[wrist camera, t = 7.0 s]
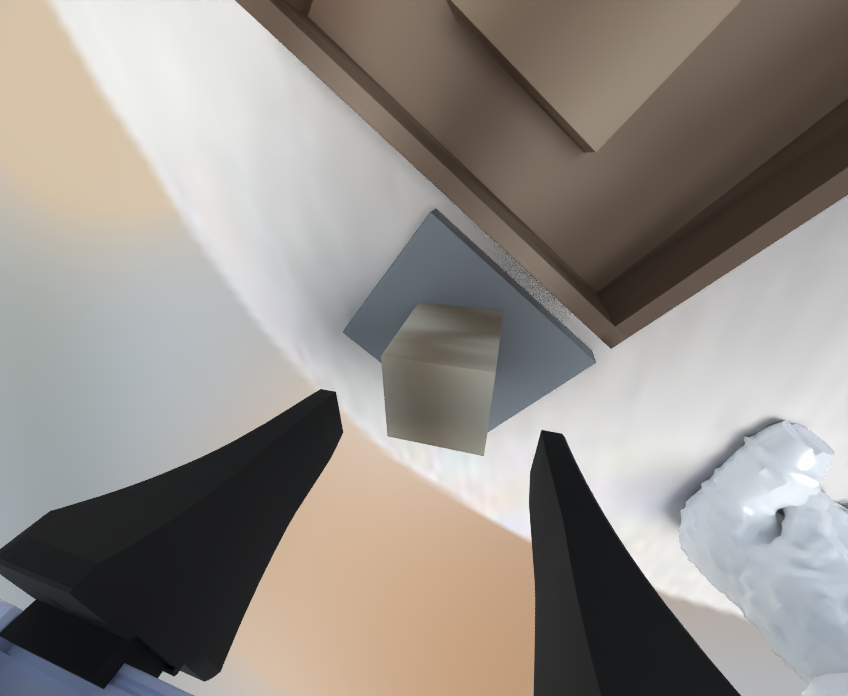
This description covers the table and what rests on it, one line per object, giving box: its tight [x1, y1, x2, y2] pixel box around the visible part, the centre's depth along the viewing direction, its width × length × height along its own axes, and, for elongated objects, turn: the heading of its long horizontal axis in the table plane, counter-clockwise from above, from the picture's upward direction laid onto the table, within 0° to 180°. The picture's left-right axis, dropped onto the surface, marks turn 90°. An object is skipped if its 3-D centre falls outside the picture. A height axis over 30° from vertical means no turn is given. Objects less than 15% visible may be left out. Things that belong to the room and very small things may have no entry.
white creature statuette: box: [679, 420, 848, 696], centre depth 13 cm, size 10×9×12 cm
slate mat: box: [343, 209, 596, 432], centre depth 17 cm, size 10×8×1 cm
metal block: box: [381, 302, 503, 456], centre depth 14 cm, size 4×4×5 cm
